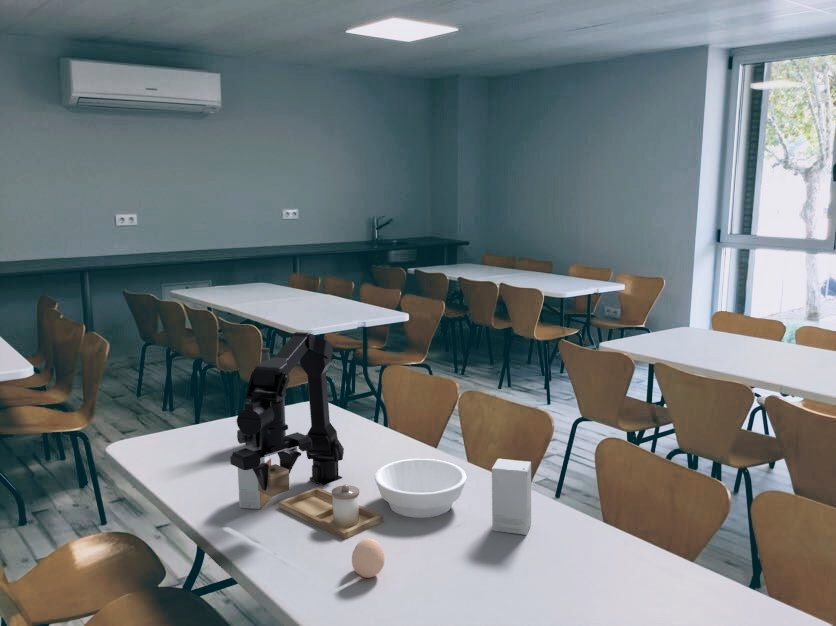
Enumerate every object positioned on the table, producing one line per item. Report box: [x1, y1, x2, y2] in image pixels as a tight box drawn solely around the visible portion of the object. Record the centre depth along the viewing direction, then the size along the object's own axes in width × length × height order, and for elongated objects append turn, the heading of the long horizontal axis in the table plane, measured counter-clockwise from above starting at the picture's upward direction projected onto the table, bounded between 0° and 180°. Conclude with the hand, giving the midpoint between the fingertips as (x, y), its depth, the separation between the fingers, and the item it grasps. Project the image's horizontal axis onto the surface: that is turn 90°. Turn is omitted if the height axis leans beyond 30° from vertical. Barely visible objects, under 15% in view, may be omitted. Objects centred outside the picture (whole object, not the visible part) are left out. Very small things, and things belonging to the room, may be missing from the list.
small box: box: [237, 457, 273, 510], centre depth 183 cm, size 8×6×10 cm
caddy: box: [278, 486, 384, 540], centre depth 176 cm, size 12×24×2 cm, turn 47°
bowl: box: [374, 458, 467, 519], centre depth 181 cm, size 22×22×8 cm
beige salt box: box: [258, 463, 290, 498], centre depth 167 cm, size 5×5×5 cm
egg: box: [351, 537, 386, 579], centre depth 149 cm, size 7×7×8 cm
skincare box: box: [491, 458, 532, 536], centre depth 169 cm, size 8×7×16 cm
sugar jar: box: [331, 484, 360, 527], centre depth 171 cm, size 6×6×9 cm
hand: (273, 486), depth 167 cm, fingers closed on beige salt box, 5 cm apart
